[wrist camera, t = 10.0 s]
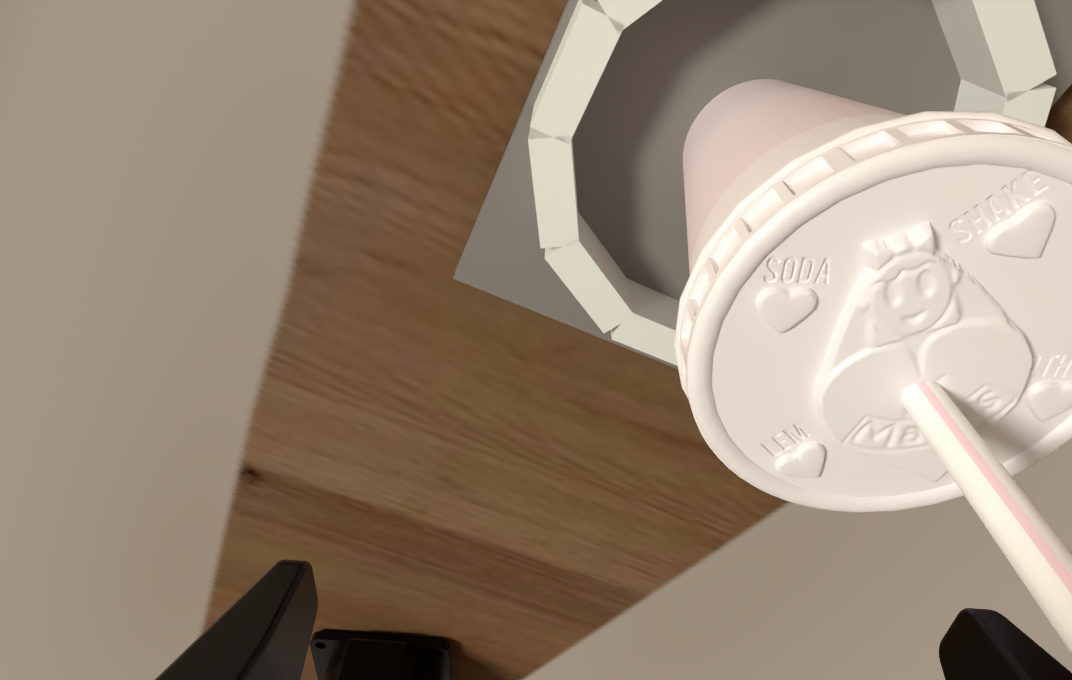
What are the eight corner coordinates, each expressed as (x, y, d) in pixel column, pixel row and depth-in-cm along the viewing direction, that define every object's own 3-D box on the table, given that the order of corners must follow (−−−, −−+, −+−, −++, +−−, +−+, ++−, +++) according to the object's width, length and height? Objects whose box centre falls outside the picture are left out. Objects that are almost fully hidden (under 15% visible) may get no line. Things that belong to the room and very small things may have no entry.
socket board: (783, 399, 23) (808, 455, 20) (457, 266, 20) (442, 312, 18) (1136, -25, 16) (1237, -14, 13) (693, -300, 13) (719, -345, 11)
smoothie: (670, 291, 20) (817, 847, 8) (597, 82, 17) (659, 487, 5) (896, 215, 18) (1496, 771, 6) (862, -30, 15) (1905, 167, 3)
